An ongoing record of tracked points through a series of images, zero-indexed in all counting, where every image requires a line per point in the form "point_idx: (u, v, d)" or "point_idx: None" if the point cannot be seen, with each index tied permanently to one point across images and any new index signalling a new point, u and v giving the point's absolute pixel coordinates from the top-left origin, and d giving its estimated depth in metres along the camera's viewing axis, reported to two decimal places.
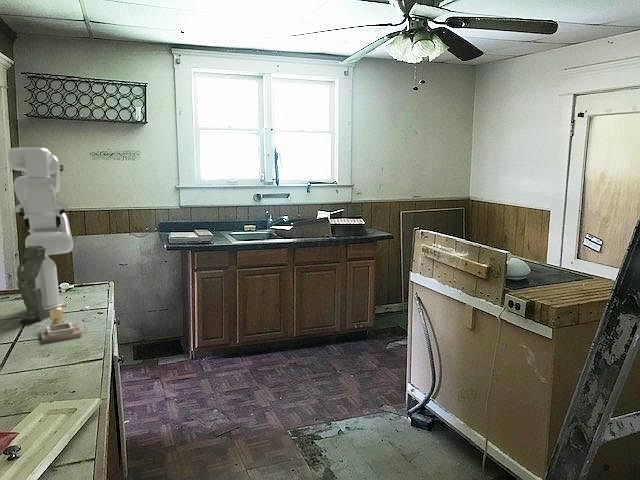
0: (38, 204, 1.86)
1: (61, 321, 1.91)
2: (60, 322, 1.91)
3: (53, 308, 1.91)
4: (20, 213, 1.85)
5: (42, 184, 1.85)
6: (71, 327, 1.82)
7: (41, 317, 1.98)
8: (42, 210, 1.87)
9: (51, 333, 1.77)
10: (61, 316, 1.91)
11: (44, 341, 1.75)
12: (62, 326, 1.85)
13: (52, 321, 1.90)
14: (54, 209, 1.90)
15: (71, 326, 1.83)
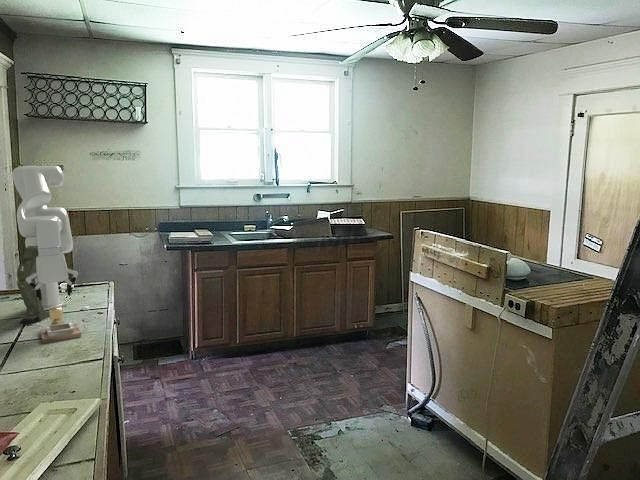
0: (49, 274, 1.86)
1: (61, 321, 1.91)
2: (60, 322, 1.91)
3: (53, 308, 1.91)
4: (32, 284, 1.84)
5: (54, 254, 1.85)
6: (71, 327, 1.82)
7: (41, 317, 1.98)
8: (53, 280, 1.87)
9: (51, 333, 1.77)
10: (61, 316, 1.91)
11: (44, 341, 1.75)
12: (62, 326, 1.85)
13: (52, 322, 1.90)
14: (65, 278, 1.89)
15: (71, 326, 1.83)
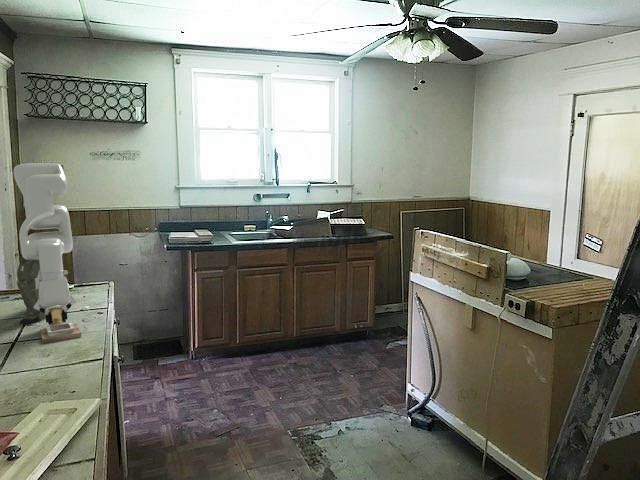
0: (52, 298, 1.88)
1: (61, 321, 1.91)
2: (60, 322, 1.91)
3: (53, 308, 1.91)
4: (41, 309, 1.88)
5: (56, 279, 1.86)
6: (71, 327, 1.82)
7: (41, 317, 1.98)
8: (56, 303, 1.89)
9: (51, 333, 1.77)
10: (61, 316, 1.91)
11: (44, 341, 1.75)
12: (62, 326, 1.85)
13: (52, 321, 1.90)
14: (67, 301, 1.91)
15: (71, 326, 1.83)
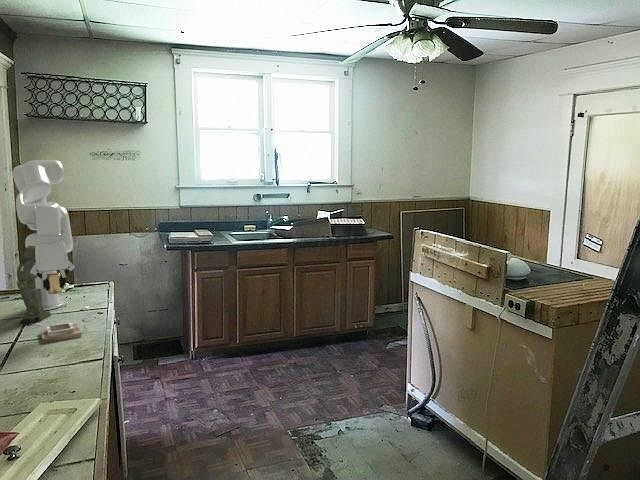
0: (49, 262, 1.81)
1: (59, 287, 1.84)
2: (58, 288, 1.84)
3: (51, 273, 1.84)
4: (39, 274, 1.81)
5: (53, 242, 1.80)
6: (71, 327, 1.82)
7: (41, 317, 1.98)
8: (53, 268, 1.82)
9: (51, 333, 1.77)
10: (59, 282, 1.84)
11: (44, 341, 1.75)
12: (62, 326, 1.85)
13: (49, 287, 1.83)
14: (66, 266, 1.84)
15: (71, 326, 1.83)
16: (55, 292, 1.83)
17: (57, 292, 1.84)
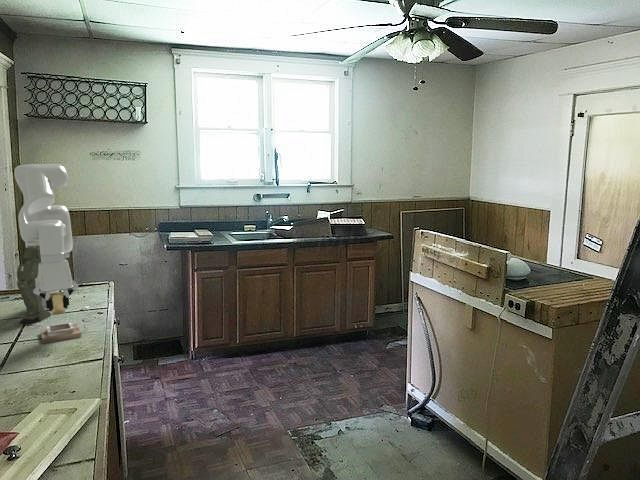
0: (52, 282, 1.77)
1: (62, 307, 1.80)
2: (61, 308, 1.79)
3: (54, 293, 1.80)
4: (42, 294, 1.76)
5: (57, 261, 1.75)
6: (71, 327, 1.82)
7: (41, 317, 1.98)
8: (57, 288, 1.78)
9: (51, 333, 1.77)
10: (62, 302, 1.80)
11: (44, 341, 1.75)
12: (62, 326, 1.85)
13: (53, 307, 1.78)
14: (69, 286, 1.80)
15: (71, 326, 1.83)
16: (58, 312, 1.79)
17: (60, 312, 1.79)
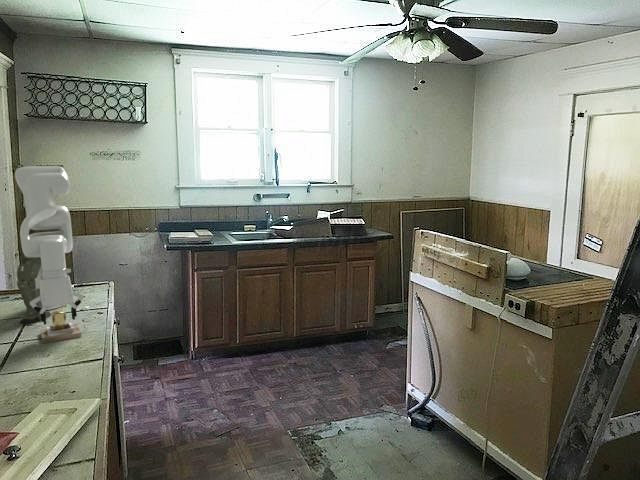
0: (54, 297, 1.78)
1: (64, 326, 1.81)
2: (63, 327, 1.81)
3: (56, 312, 1.81)
4: (36, 308, 1.76)
5: (58, 277, 1.76)
6: (71, 327, 1.82)
7: None
8: (58, 303, 1.79)
9: (51, 333, 1.77)
10: (64, 320, 1.81)
11: (44, 341, 1.75)
12: None
13: (55, 326, 1.80)
14: (71, 301, 1.81)
15: (71, 326, 1.83)
16: None
17: None
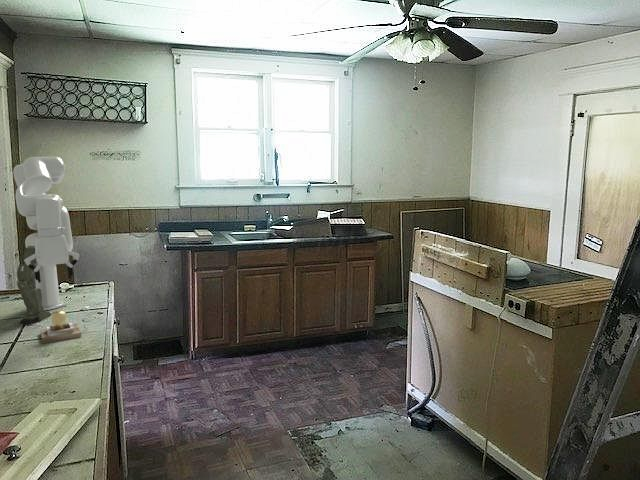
0: (49, 256, 1.77)
1: (64, 326, 1.81)
2: (63, 327, 1.81)
3: (56, 312, 1.81)
4: (30, 266, 1.76)
5: (54, 236, 1.75)
6: (71, 327, 1.82)
7: (41, 317, 1.98)
8: (53, 262, 1.78)
9: (51, 333, 1.77)
10: (64, 320, 1.81)
11: (44, 341, 1.75)
12: None
13: (54, 326, 1.80)
14: (66, 260, 1.80)
15: (71, 326, 1.83)
16: None
17: None
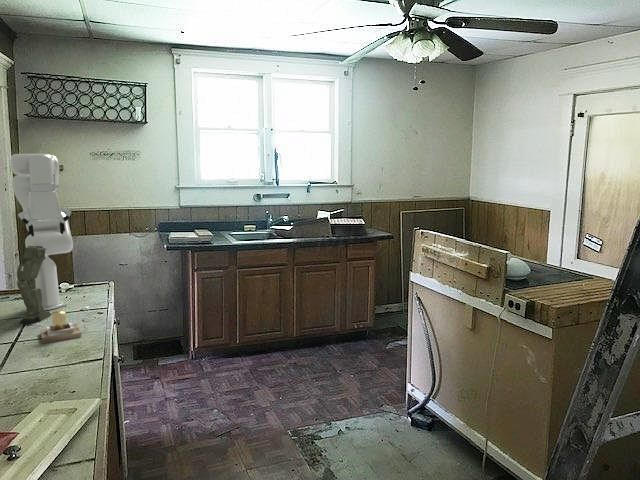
0: (42, 211, 1.86)
1: (64, 326, 1.81)
2: (63, 327, 1.81)
3: (56, 312, 1.81)
4: (24, 220, 1.84)
5: (46, 191, 1.84)
6: (71, 327, 1.82)
7: (41, 317, 1.98)
8: (46, 217, 1.87)
9: (51, 333, 1.77)
10: (64, 320, 1.81)
11: (44, 341, 1.75)
12: None
13: (55, 326, 1.80)
14: (58, 216, 1.89)
15: (71, 326, 1.83)
16: None
17: None
